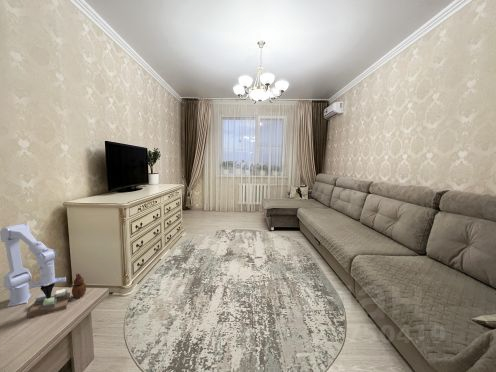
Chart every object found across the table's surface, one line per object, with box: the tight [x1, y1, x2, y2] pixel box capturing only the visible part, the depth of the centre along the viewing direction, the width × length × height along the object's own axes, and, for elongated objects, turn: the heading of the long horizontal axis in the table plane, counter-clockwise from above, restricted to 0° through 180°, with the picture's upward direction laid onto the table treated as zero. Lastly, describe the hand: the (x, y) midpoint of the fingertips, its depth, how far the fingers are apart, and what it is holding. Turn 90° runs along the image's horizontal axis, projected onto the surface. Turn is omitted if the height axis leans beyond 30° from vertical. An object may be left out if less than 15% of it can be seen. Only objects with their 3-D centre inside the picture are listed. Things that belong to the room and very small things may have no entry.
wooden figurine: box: [71, 273, 87, 299], centre depth 130 cm, size 7×6×15 cm
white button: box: [54, 288, 67, 297], centre depth 126 cm, size 4×4×2 cm
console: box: [27, 289, 71, 319], centre depth 121 cm, size 14×15×4 cm
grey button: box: [36, 292, 47, 301], centre depth 122 cm, size 4×4×2 cm
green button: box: [43, 297, 55, 306], centre depth 118 cm, size 4×4×2 cm
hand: (48, 297), depth 118 cm, fingers closed
